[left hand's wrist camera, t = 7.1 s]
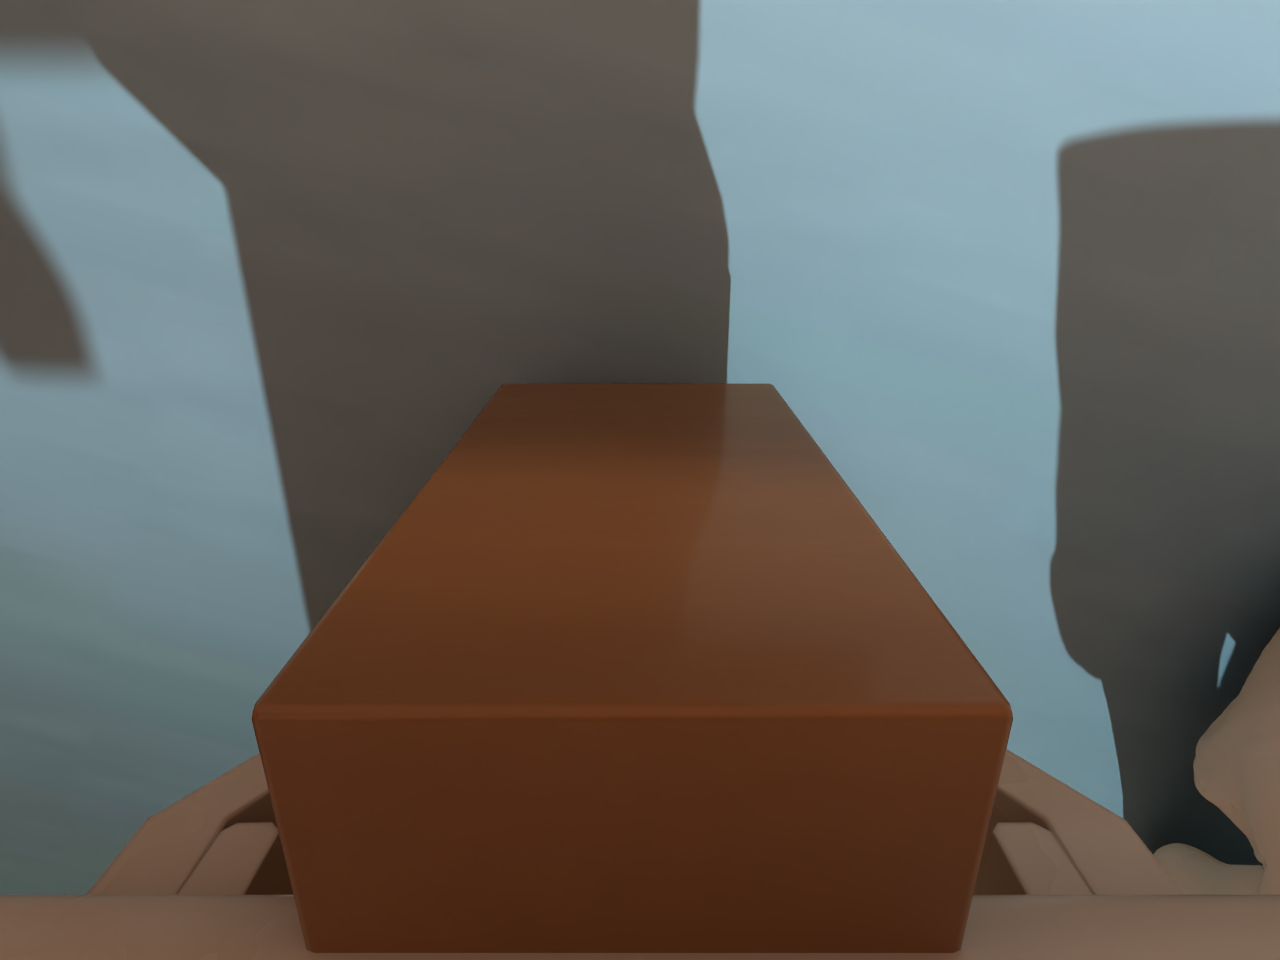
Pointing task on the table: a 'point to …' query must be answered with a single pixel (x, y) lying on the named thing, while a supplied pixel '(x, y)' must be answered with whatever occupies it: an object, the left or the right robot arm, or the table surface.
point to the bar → (633, 702)
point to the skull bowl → (1239, 788)
